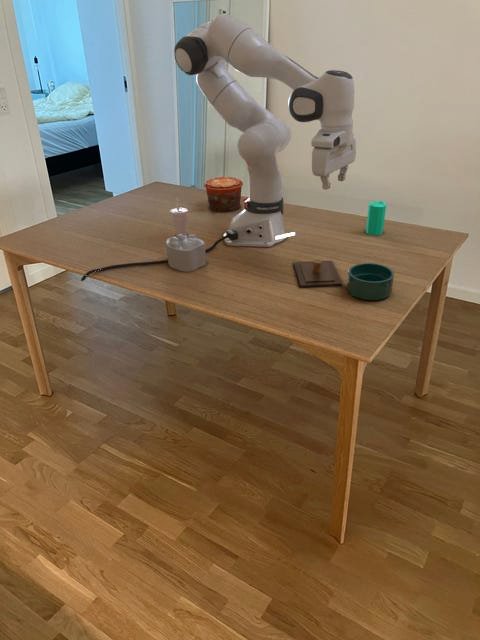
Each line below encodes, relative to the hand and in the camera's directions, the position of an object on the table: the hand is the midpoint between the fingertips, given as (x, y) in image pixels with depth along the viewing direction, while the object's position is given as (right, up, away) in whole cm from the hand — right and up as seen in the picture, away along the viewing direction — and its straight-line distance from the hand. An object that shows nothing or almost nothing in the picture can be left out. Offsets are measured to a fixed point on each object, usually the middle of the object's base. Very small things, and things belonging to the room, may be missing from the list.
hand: (334, 184), depth 145 cm
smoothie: (-49, -9, +37) cm, 62 cm away
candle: (+21, -8, +33) cm, 40 cm away
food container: (-34, +7, +62) cm, 72 cm away
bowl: (+9, -32, -5) cm, 33 cm away
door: (-4, -26, +5) cm, 27 cm away
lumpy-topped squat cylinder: (-46, -21, +16) cm, 53 cm away
